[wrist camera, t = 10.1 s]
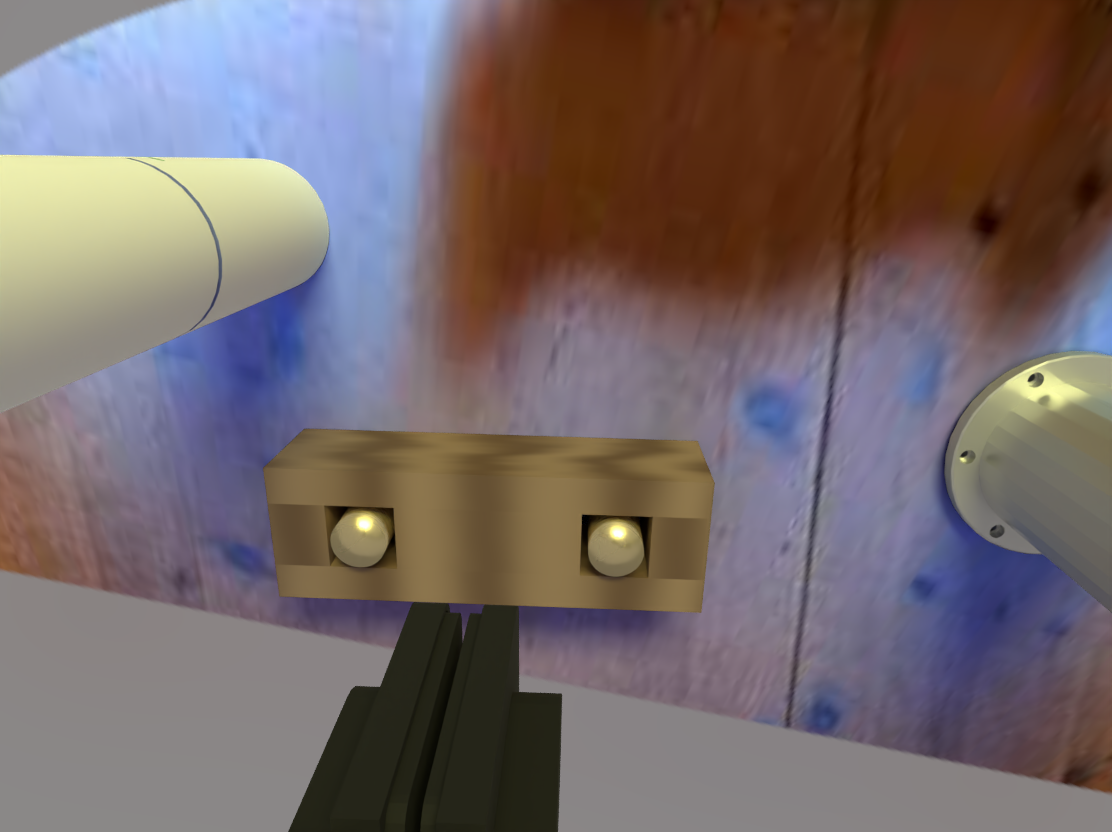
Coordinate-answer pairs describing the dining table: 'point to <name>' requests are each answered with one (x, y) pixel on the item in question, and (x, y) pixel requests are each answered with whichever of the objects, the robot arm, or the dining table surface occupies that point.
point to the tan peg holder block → (491, 517)
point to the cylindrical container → (138, 256)
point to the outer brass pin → (363, 535)
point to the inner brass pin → (615, 544)
